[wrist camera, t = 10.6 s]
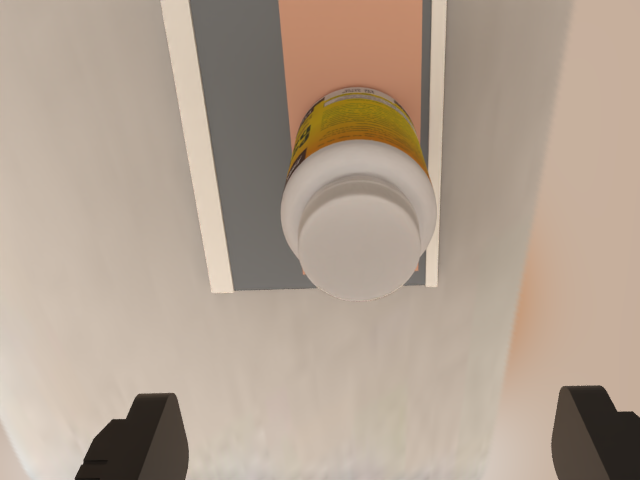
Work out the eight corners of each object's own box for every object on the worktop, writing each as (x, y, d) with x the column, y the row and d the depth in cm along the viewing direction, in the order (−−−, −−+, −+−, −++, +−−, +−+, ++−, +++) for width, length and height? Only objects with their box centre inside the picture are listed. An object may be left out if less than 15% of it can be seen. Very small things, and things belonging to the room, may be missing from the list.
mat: (215, 283, 33) (211, 293, 32) (161, -34, 26) (154, -32, 25) (434, 276, 32) (437, 286, 32) (445, -53, 25) (448, -52, 24)
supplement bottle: (298, 79, 27) (273, 162, 18) (423, 87, 27) (462, 175, 18) (293, 194, 29) (270, 317, 20) (407, 201, 29) (434, 328, 20)
